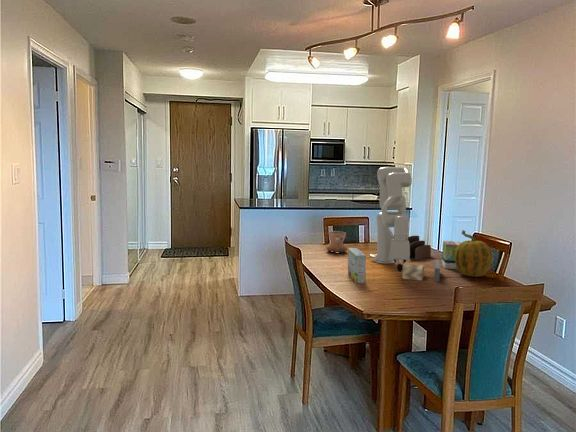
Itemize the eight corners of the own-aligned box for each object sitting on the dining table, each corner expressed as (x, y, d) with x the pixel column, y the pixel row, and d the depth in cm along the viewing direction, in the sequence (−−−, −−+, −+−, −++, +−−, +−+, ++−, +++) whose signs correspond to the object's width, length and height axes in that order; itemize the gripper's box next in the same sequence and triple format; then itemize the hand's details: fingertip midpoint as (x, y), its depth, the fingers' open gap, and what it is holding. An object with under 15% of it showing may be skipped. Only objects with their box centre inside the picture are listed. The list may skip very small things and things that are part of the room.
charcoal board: (434, 281, 250) (434, 268, 249) (434, 272, 271) (434, 260, 270) (439, 281, 249) (439, 268, 248) (438, 272, 270) (439, 260, 269)
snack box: (346, 274, 264) (347, 247, 262) (356, 274, 264) (357, 247, 263) (355, 284, 243) (356, 255, 241) (366, 283, 243) (367, 255, 242)
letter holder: (401, 258, 310) (402, 237, 308) (417, 254, 324) (418, 234, 322) (415, 260, 303) (416, 239, 301) (430, 256, 317) (431, 236, 315)
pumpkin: (449, 271, 272) (451, 228, 270) (483, 272, 272) (485, 229, 269) (460, 279, 254) (462, 233, 251) (496, 280, 253) (499, 233, 250)
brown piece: (347, 254, 321) (348, 234, 319) (326, 254, 322) (326, 233, 321) (346, 250, 338) (347, 230, 337) (326, 249, 340) (327, 230, 338)
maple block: (402, 279, 255) (402, 268, 255) (405, 274, 266) (405, 263, 266) (421, 280, 252) (421, 269, 251) (423, 275, 263) (424, 265, 262)
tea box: (462, 269, 278) (463, 244, 277) (444, 268, 280) (445, 244, 279) (458, 264, 293) (459, 240, 291) (441, 263, 295) (442, 240, 293)
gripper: (386, 238, 257) (385, 271, 259) (414, 240, 252) (413, 273, 254) (387, 236, 264) (386, 269, 266) (415, 238, 260) (414, 270, 262)
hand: (399, 271), depth 260 cm, fingers closed
